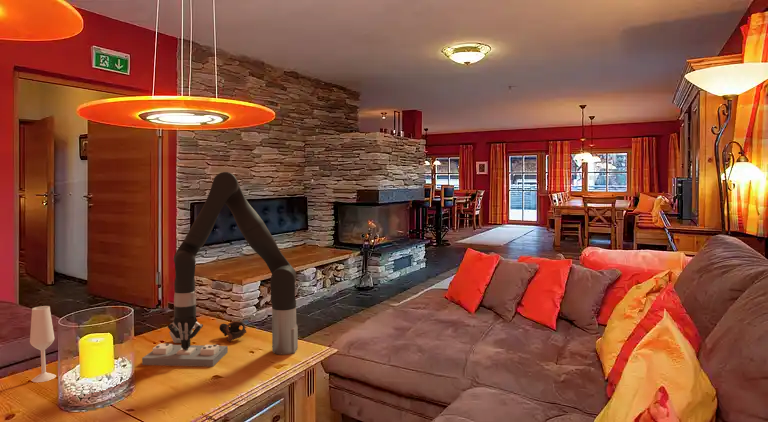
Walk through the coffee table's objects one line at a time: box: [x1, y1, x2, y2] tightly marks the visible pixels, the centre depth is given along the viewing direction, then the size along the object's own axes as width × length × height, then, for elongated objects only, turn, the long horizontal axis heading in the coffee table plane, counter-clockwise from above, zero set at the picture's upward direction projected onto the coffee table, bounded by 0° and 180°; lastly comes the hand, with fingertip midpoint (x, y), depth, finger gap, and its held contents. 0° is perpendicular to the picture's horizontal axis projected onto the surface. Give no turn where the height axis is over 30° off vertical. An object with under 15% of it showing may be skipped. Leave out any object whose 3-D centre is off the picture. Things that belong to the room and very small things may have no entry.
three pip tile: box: [200, 344, 220, 355], centre depth 178 cm, size 5×5×3 cm
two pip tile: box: [152, 343, 174, 354], centre depth 178 cm, size 5×5×3 cm
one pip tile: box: [177, 348, 196, 355], centre depth 178 cm, size 5×5×3 cm
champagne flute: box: [29, 305, 57, 383], centre depth 159 cm, size 7×7×24 cm
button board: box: [141, 344, 229, 367], centre depth 178 cm, size 26×14×2 cm, turn 88°
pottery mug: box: [219, 320, 247, 343], centre depth 201 cm, size 12×10×8 cm
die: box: [169, 326, 194, 344], centre depth 196 cm, size 8×9×10 cm
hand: (185, 348), depth 178 cm, fingers closed
